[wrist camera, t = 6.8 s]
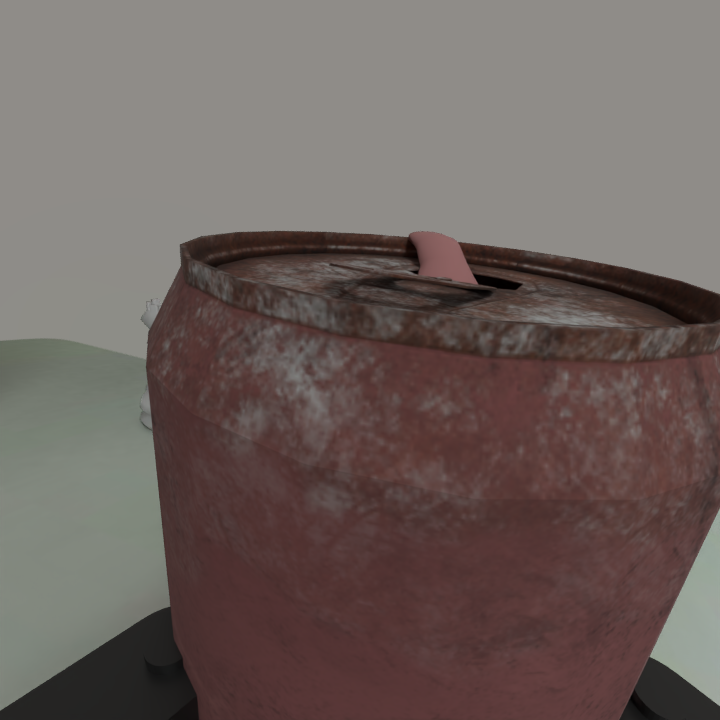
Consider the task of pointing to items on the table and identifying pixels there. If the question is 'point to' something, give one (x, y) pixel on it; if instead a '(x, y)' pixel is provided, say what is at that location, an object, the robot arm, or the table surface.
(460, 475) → the can
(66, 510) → the table surface
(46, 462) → the table surface
